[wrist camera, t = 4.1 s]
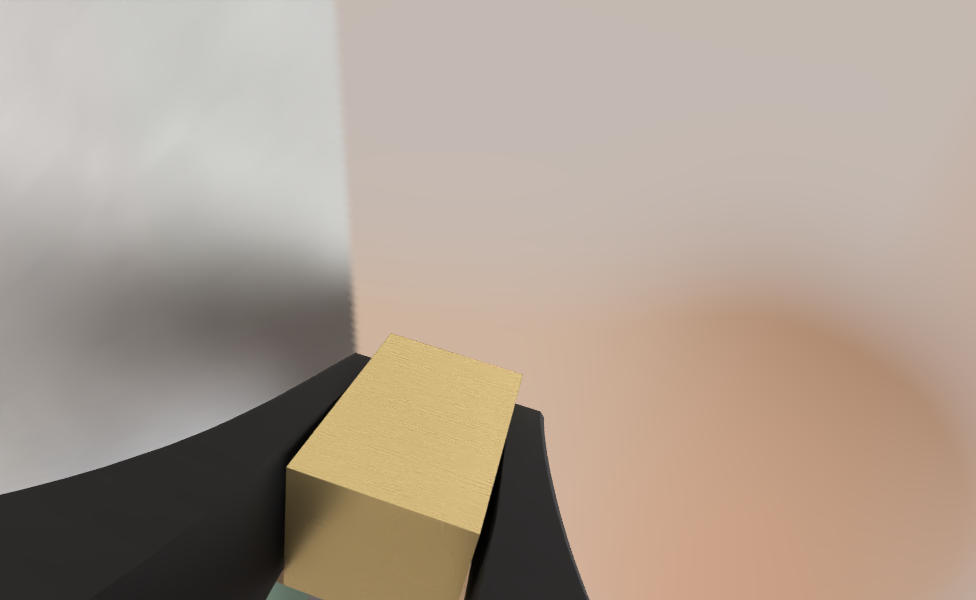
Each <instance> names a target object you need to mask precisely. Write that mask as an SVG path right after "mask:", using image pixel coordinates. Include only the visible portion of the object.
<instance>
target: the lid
mask: <svg viewBox="0 0 976 600" xmlns="http://www.w3.org/2000/svg"><path fill="white" fill-rule="evenodd" d="M308 597H309V594H307V593H304V592H301V591H299V590H296V589H293V588H291V587H288V586H285V585H283V584H281V583H278V582H276V583H275V584H274V586H273V588H272V590H271V592H270V593H269V595H268V597H267V599H266V600H307V599H308Z"/></svg>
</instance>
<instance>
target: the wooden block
mask: <svg viewBox="0 0 976 600" xmlns="http://www.w3.org/2000/svg"><path fill="white" fill-rule="evenodd" d="M522 376H523V374H519V373H516V372H513V371H510V370H506V369H504V368H500V367H497V366H494V365H491V364H487V363H484V362H481V361H478V360H475V359H471V358H468V357H465V356H462V355H459V354H456V353H452V352H449V351H446V350H443V349H440V348H436V347H433V346H430V345H427V344H424V343H420V342H417V341H414V340H411V339H407V338H404V337H401V336H398V335H395V334H390V335H389V337H388V338H387V339H386V341H385V342H384V343H383V345H382V346H381V347H380V348H379V350H378V351H377V352H376V353H375V354H374V356H373V357H372V358H371V360H370V361H369V362H368V363H367V365H366V366H365V367H364V369H363V370H362V371H361V372H360V374H359V375H358V376H357V377H356V379H355V380H354V381H353V383H352V384H351V385H350V386H349V388H348V389H347V390H346V392H345V393H344V394H343V395H342V397H341V398H340V399H339V400H338V402H337V403H336V404H335V406H334V407H333V408H332V409H331V411H330V412H329V413H328V415H327V416H326V417H325V418H324V420H323V421H322V422H321V423H320V425H319V426H318V427H317V429H316V430H315V431H314V432H313V434H312V435H311V436H310V438H309V439H308V440H307V441H306V443H305V444H304V445H303V446H302V448H301V449H300V450H299V452H298V453H297V454H296V455H295V457H294V458H293V459H292V461H291V462H290V463H289V464H288V466H287V467H286V502H285V544H284V585H285V586H288V587H291V588H293V589H296V590H299V591H301V592H304V593H307V594H309V595H312V596H315V597H318V598H320V599H323V600H459V597H460V594H461V591H462V588H463V585H464V582H465V579H466V576H467V573H468V570H469V566H470V563H471V560H472V557H473V554H474V551H475V548H476V545H477V542H478V539H479V536H480V532H481V528H482V525H483V521H484V517H485V513H486V510H487V506H488V502H489V499H490V495H491V491H492V488H493V484H494V480H495V476H496V473H497V469H498V465H499V462H500V458H501V454H502V450H503V447H504V443H505V439H506V436H507V432H508V428H509V424H510V421H511V417H512V413H513V410H514V406H515V402H516V398H517V395H518V391H519V387H520V384H521V380H522Z"/></svg>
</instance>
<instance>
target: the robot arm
mask: <svg viewBox="0 0 976 600" xmlns="http://www.w3.org/2000/svg"><path fill="white" fill-rule="evenodd" d="M370 360H371V358H370V357H367V356H364V355H361V354H357V353H355V354H353V355H351V356H349V357H347V358H345V359H343V360H342V361H340V362H338V363H336V364H335V365H333V366H331V367H329V368H328V369H326V370H324V371H323V372H321V373H319V374H317V375H316V376H314V377H312V378H310V379H309V380H307V381H305V382H303V383H301V384H300V385H298V386H296V387H294V388H292V389H290V390H289V391H287V392H285V393H283V394H281V395H279V396H277V397H276V398H274V399H272V400H270V401H268V402H266V403H264V404H262V405H260V406H258V407H256V408H254V409H252V410H250V411H248V412H246V413H243V414H241V415H239V416H237V417H235V418H233V419H231V420H229V421H227V422H225V423H222V424H220V425H218V426H216V427H213V428H211V429H209V430H206V431H204V432H202V433H199V434H197V435H194V436H191V437H189V438H186V439H184V440H181V441H179V442H176V443H174V444H171V445H168V446H166V447H163V448H160V449H157V450H154V451H151V452H148V453H145V454H142V455H139V456H136V457H133V458H130V459H127V460H124V461H121V462H118V463H115V464H112V465H109V466H106V467H103V468H99V469H96V470H93V471H89V472H86V473H82V474H79V475H75V476H72V477H68V478H65V479H61V480H57V481H53V482H50V483H46V484H42V485H38V486H34V487H31V488H27V489H23V490H19V491H14V492H10V493H6V494H2V495H0V600H266V599H267V597H268V595H269V593H270V592H271V590H272V588H273V586H274V584H275V583H276V581H277V579H278V577H279V576H280V574H281V572H282V571H283V569H284V544H285V502H286V467H287V466H288V464H289V463H290V462H291V461H292V459H293V458H294V457H295V455H296V454H297V453H298V452H299V450H300V449H301V448H302V446H303V445H304V444H305V443H306V441H307V440H308V439H309V438H310V436H311V435H312V434H313V432H314V431H315V430H316V429H317V427H318V426H319V425H320V423H321V422H322V421H323V420H324V418H325V417H326V416H327V415H328V413H329V412H330V411H331V409H332V408H333V407H334V406H335V404H336V403H337V402H338V400H339V399H340V398H341V397H342V395H343V394H344V393H345V392H346V390H347V389H348V388H349V386H350V385H351V384H352V383H353V381H354V380H355V379H356V377H357V376H358V375H359V374H360V372H361V371H362V370H363V369H364V367H365V366H366V365H367V363H368V362H369V361H370ZM464 600H589V597H588V595H587V593H586V590H585V587H584V585H583V582H582V580H581V577H580V574H579V571H578V568H577V566H576V563H575V560H574V557H573V554H572V551H571V548H570V545H569V542H568V539H567V535H566V532H565V529H564V525H563V522H562V518H561V515H560V511H559V507H558V503H557V499H556V495H555V491H554V486H553V482H552V477H551V473H550V468H549V462H548V456H547V450H546V443H545V435H544V417H543V415H542V414H541V412H540V411H537V410H534V409H531V408H527V407H524V406H521V405H518V404H515V406H514V410H513V413H512V417H511V421H510V424H509V428H508V432H507V436H506V439H505V443H504V447H503V450H502V454H501V458H500V462H499V465H498V469H497V473H496V476H495V480H494V484H493V488H492V491H491V495H490V499H489V502H488V506H487V510H486V513H485V517H484V521H483V525H482V528H481V532H480V536H479V539H478V542H477V545H476V548H475V551H474V554H473V557H472V560H471V565H470V570H469V576H468V581H467V586H466V592H465V597H464Z"/></svg>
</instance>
